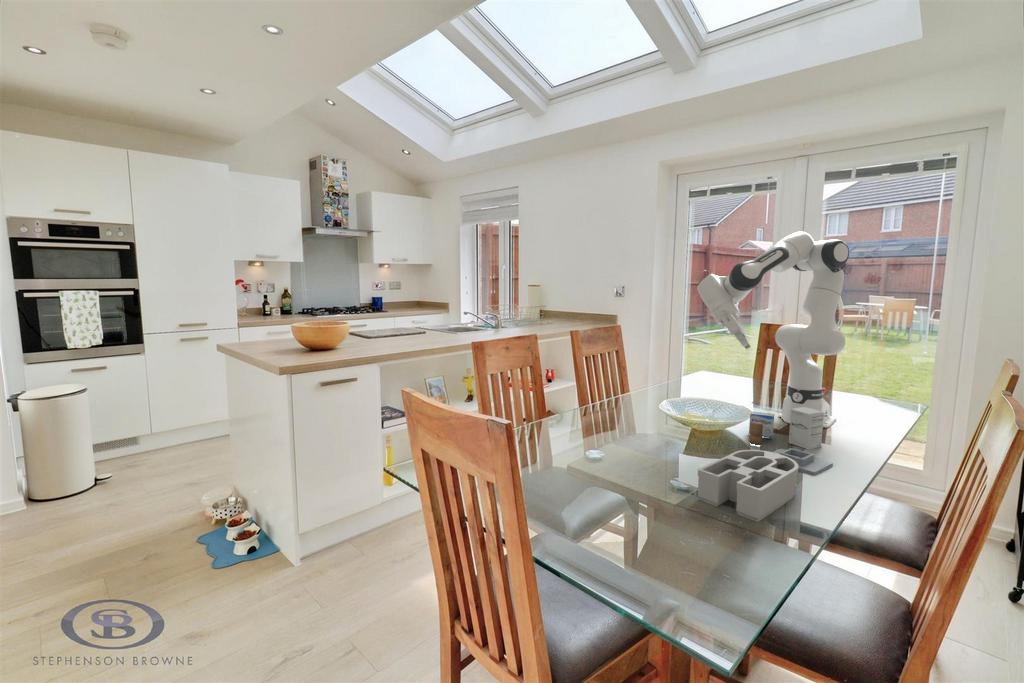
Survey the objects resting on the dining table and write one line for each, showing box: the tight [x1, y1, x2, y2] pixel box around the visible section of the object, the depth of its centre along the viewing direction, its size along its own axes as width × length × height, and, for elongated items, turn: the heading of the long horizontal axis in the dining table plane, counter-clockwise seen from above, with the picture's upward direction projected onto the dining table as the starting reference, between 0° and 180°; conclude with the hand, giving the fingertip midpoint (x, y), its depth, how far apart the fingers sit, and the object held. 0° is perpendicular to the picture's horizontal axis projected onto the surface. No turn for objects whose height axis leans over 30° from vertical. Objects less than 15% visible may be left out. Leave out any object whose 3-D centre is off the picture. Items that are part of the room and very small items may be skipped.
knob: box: [748, 421, 763, 446], centre depth 171 cm, size 4×4×8 cm
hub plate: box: [772, 447, 833, 477], centre depth 155 cm, size 12×16×3 cm
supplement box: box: [788, 407, 824, 450], centre depth 170 cm, size 7×7×13 cm
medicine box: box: [748, 411, 775, 438], centre depth 180 cm, size 8×4×9 cm, turn 62°
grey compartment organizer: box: [697, 449, 799, 523], centre depth 133 cm, size 17×28×9 cm, turn 129°
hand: (747, 347), depth 174 cm, fingers open, 8 cm apart
